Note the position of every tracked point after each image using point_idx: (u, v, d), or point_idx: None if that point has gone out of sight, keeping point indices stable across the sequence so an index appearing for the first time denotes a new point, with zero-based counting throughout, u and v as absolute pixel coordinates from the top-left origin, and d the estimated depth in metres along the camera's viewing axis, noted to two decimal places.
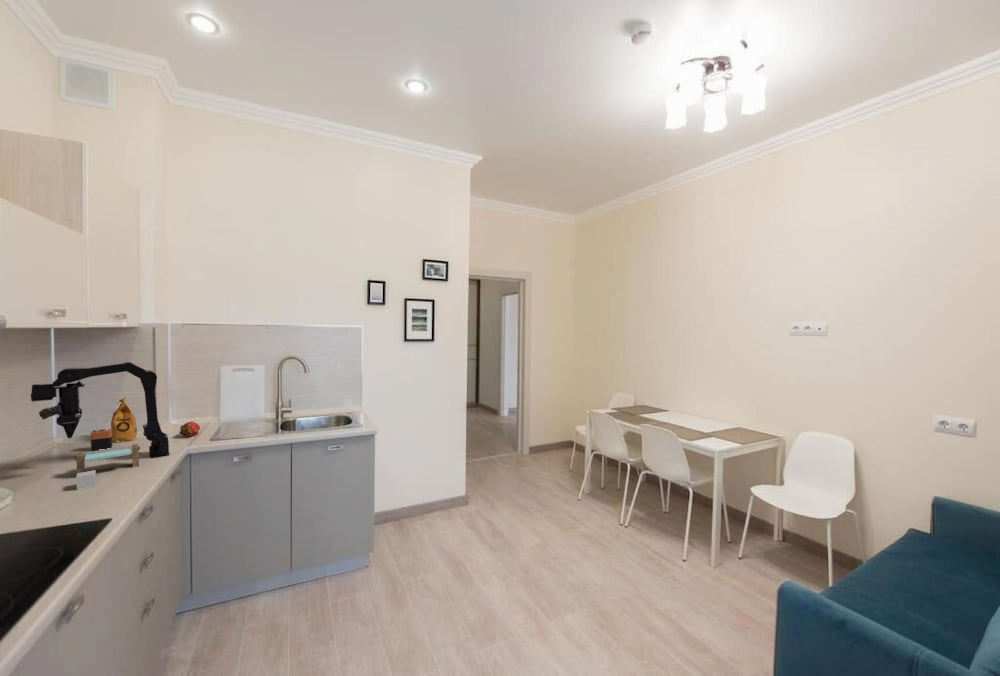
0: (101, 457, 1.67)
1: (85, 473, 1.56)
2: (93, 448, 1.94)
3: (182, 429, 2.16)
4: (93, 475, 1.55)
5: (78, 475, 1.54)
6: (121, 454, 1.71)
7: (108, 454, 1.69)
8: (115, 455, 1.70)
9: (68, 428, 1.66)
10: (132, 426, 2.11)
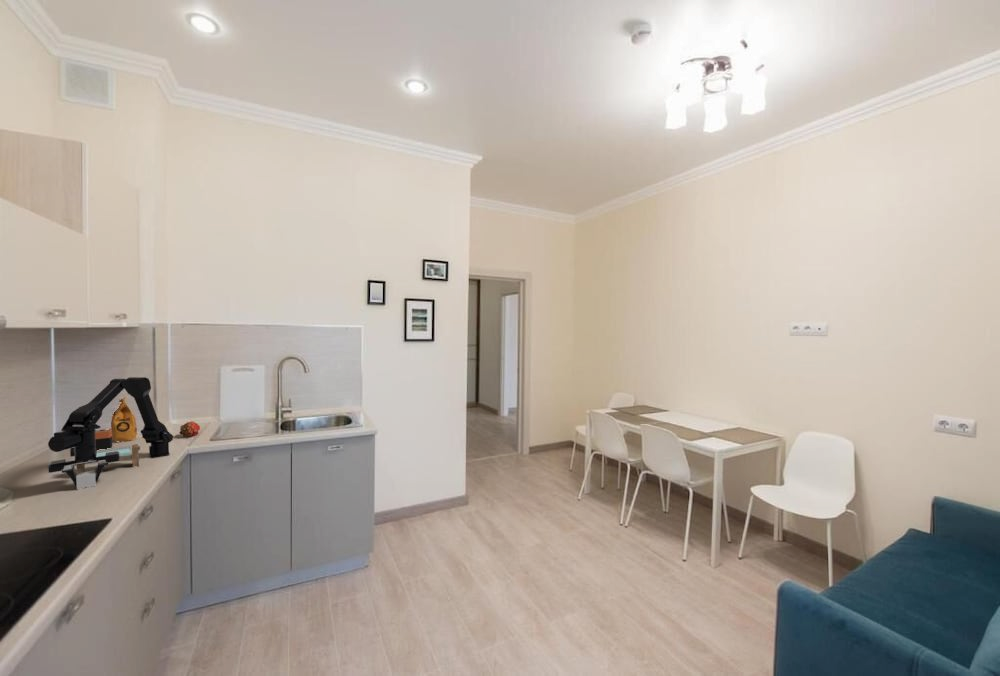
0: None
1: (85, 473, 1.56)
2: None
3: (182, 429, 2.16)
4: (93, 475, 1.55)
5: (78, 474, 1.54)
6: (121, 454, 1.71)
7: None
8: None
9: None
10: (132, 426, 2.11)
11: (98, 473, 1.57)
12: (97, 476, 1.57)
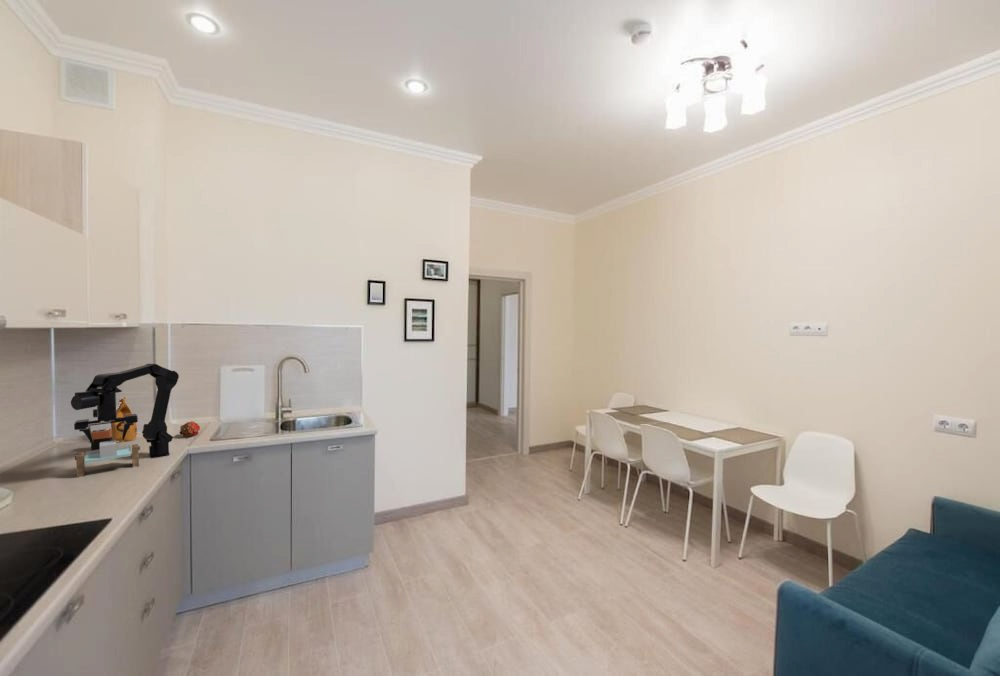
0: (101, 459, 1.67)
1: (107, 442, 1.70)
2: (93, 448, 1.94)
3: (182, 429, 2.16)
4: (114, 445, 1.69)
5: (101, 444, 1.68)
6: (121, 456, 1.71)
7: None
8: (115, 457, 1.70)
9: None
10: (132, 426, 2.11)
11: (125, 432, 1.72)
12: (124, 434, 1.72)
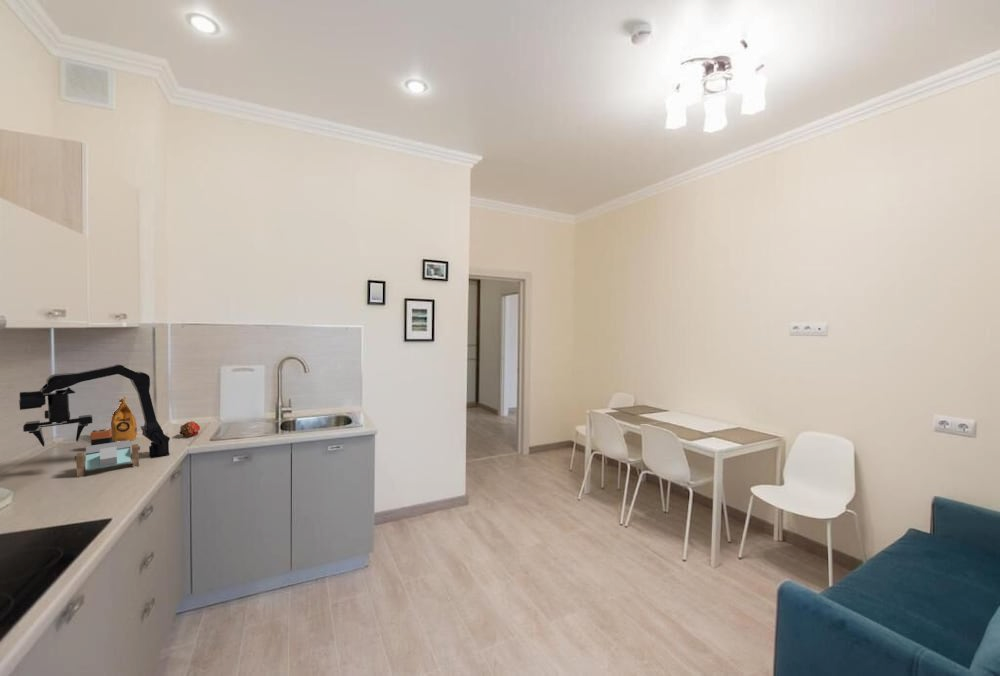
0: (102, 466, 1.69)
1: (107, 452, 1.68)
2: None
3: (182, 429, 2.16)
4: (115, 457, 1.69)
5: (101, 454, 1.67)
6: (121, 463, 1.73)
7: None
8: (115, 464, 1.71)
9: None
10: (132, 426, 2.11)
11: (78, 433, 1.68)
12: (77, 436, 1.68)
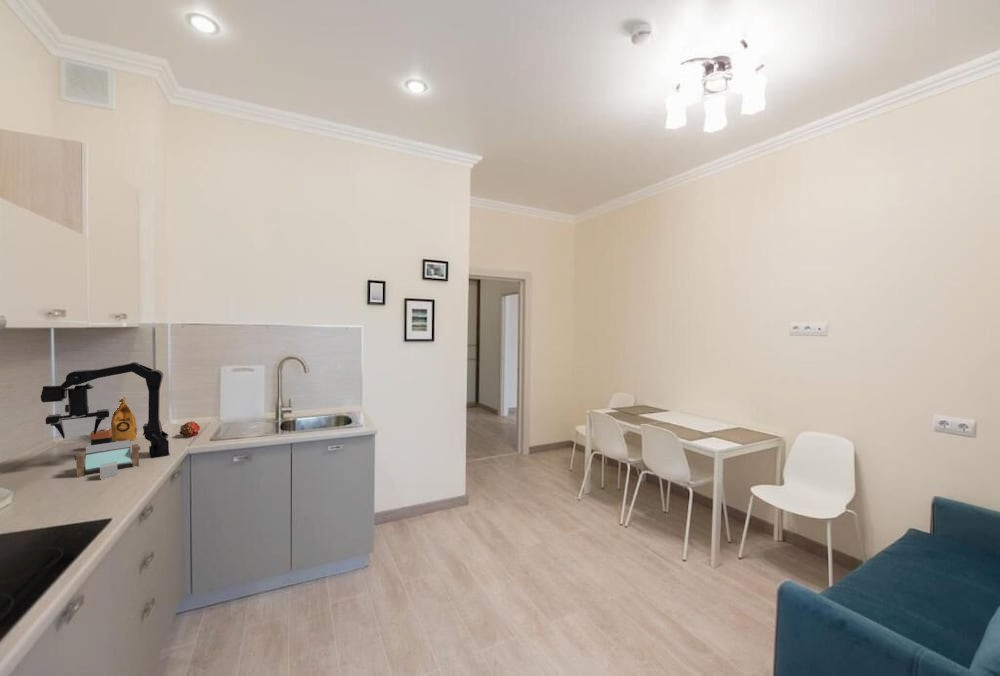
0: None
1: None
2: None
3: (182, 429, 2.16)
4: None
5: None
6: (121, 463, 1.73)
7: (108, 462, 1.71)
8: None
9: None
10: (132, 426, 2.11)
11: (96, 426, 1.77)
12: (95, 429, 1.77)
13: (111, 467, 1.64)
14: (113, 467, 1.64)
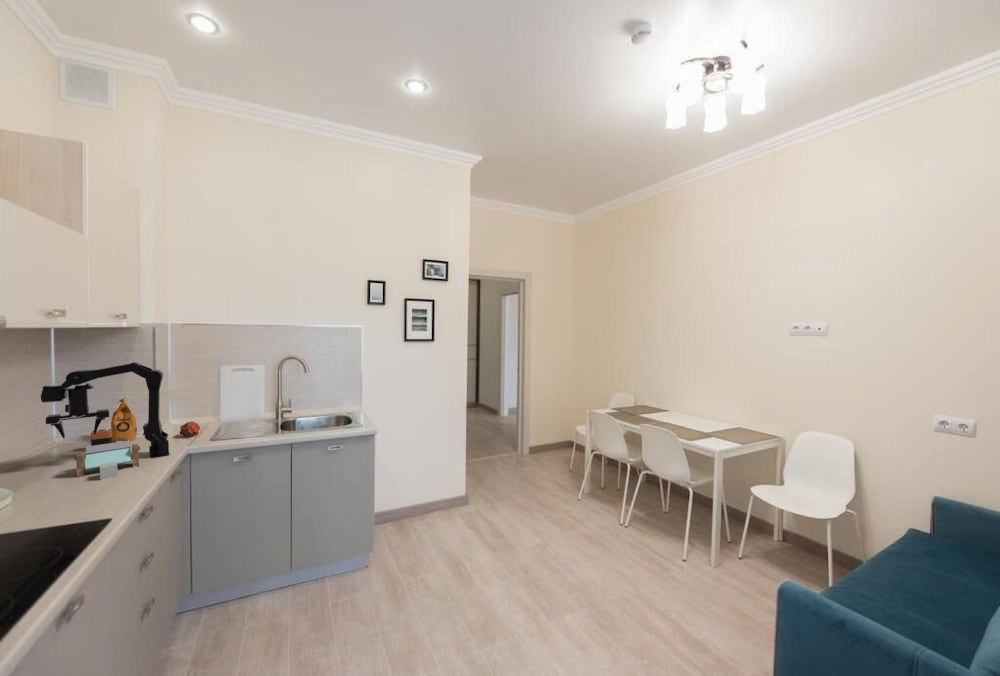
0: None
1: None
2: None
3: (182, 429, 2.16)
4: None
5: None
6: (121, 462, 1.72)
7: (108, 461, 1.70)
8: None
9: None
10: (132, 426, 2.11)
11: (96, 426, 1.77)
12: (95, 429, 1.77)
13: (111, 467, 1.64)
14: (113, 467, 1.64)
